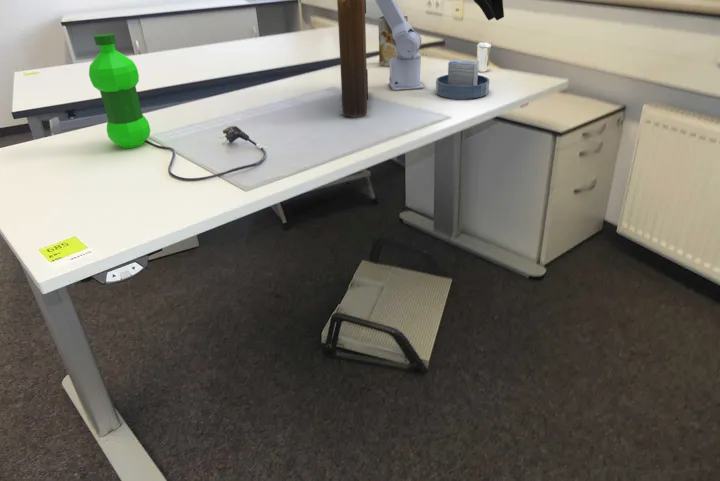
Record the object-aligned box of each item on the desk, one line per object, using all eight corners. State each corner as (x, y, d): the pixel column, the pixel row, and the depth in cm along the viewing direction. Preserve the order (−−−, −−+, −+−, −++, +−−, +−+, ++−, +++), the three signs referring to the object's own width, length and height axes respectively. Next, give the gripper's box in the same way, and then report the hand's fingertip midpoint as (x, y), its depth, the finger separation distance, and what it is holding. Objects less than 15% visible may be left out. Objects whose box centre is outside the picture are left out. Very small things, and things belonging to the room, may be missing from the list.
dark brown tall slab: (344, 94, 161) (339, -16, 146) (368, 93, 161) (365, -17, 146) (341, 118, 141) (334, -7, 126) (368, 117, 141) (365, -8, 126)
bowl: (442, 101, 151) (443, 88, 149) (431, 87, 164) (431, 75, 162) (495, 98, 152) (496, 84, 150) (479, 84, 165) (480, 72, 163)
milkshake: (491, 72, 178) (494, 40, 173) (475, 72, 179) (477, 40, 174) (491, 69, 182) (494, 38, 177) (475, 69, 183) (477, 38, 178)
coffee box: (408, 63, 195) (408, 15, 186) (402, 67, 189) (403, 18, 181) (384, 62, 198) (384, 15, 190) (378, 65, 193) (377, 17, 184)
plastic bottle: (111, 155, 123) (78, 41, 111) (109, 141, 132) (79, 33, 119) (156, 147, 127) (129, 35, 114) (152, 134, 135) (126, 29, 122)
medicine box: (477, 90, 158) (479, 60, 154) (473, 94, 155) (475, 63, 151) (451, 88, 161) (452, 58, 157) (446, 92, 158) (448, 61, 154)
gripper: (501, -40, 139) (518, 11, 144) (485, -35, 153) (501, 12, 158) (476, -27, 140) (493, 23, 145) (462, -23, 154) (478, 23, 159)
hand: (496, 18), depth 152 cm, fingers open, 7 cm apart
